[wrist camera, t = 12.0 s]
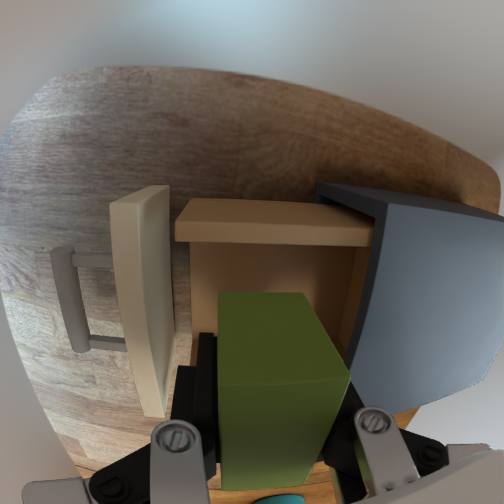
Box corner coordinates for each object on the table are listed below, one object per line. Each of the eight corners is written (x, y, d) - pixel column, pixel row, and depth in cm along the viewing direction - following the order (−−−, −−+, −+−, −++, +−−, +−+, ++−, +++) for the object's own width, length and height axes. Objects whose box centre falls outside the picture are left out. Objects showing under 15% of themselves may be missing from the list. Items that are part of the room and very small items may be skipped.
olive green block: (217, 290, 10) (217, 385, 5) (303, 291, 10) (353, 376, 6) (218, 407, 11) (221, 491, 7) (283, 404, 12) (304, 485, 8)
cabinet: (294, 346, 22) (326, 429, 14) (315, 180, 18) (388, 202, 10) (431, 330, 23) (482, 380, 15) (464, 203, 19) (538, 230, 11)
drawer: (102, 341, 19) (71, 403, 12) (81, 187, 15) (17, 207, 9) (337, 343, 21) (373, 403, 15) (365, 196, 17) (431, 219, 11)
